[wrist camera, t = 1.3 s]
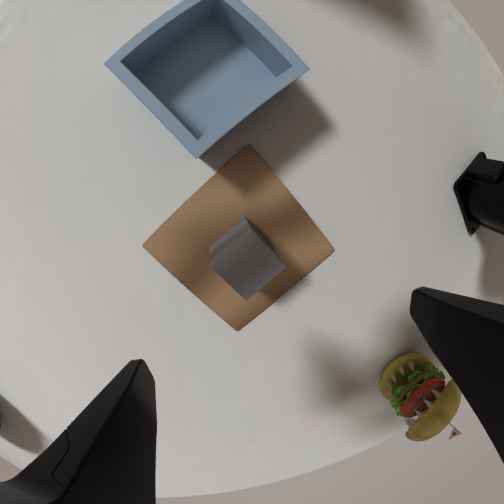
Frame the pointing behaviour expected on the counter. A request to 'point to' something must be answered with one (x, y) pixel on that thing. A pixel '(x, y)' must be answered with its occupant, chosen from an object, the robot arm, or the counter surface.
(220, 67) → the light blue open box
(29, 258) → the counter surface
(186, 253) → the lid
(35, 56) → the counter surface
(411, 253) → the counter surface
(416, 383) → the hamburger
